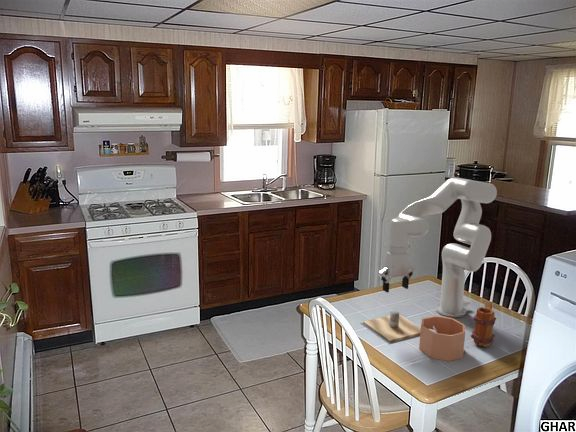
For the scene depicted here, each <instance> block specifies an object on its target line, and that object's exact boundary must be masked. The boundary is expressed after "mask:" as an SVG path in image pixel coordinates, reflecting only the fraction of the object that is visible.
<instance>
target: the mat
mask: <svg viewBox="0 0 576 432" xmlns="http://www.w3.org/2000/svg"><path fill="white" fill-rule="evenodd" d="M363 323H364V321H363V322H360V325H362V326H363V327H365V328H366V329H367V330H369V331H370V332H371V333H373V334H374V335H375V336H377V337H378V338H379V339H381V340H382V341H384V342H385V343H387V344H388V345H392V344H397V343H400V342H405V341H407V340H411V339H415V338H420V335H417V336H414V337H410V338H406V339H402V340H398V341H394V342H390V343H389V342H388V341H387V340H385V339H384V338H383V337H381V336H380V335H378V334H377V333H376V332H374V331H373V330H372V329H370V328H369V327H367V326H366V325H365V324H363Z"/></svg>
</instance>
